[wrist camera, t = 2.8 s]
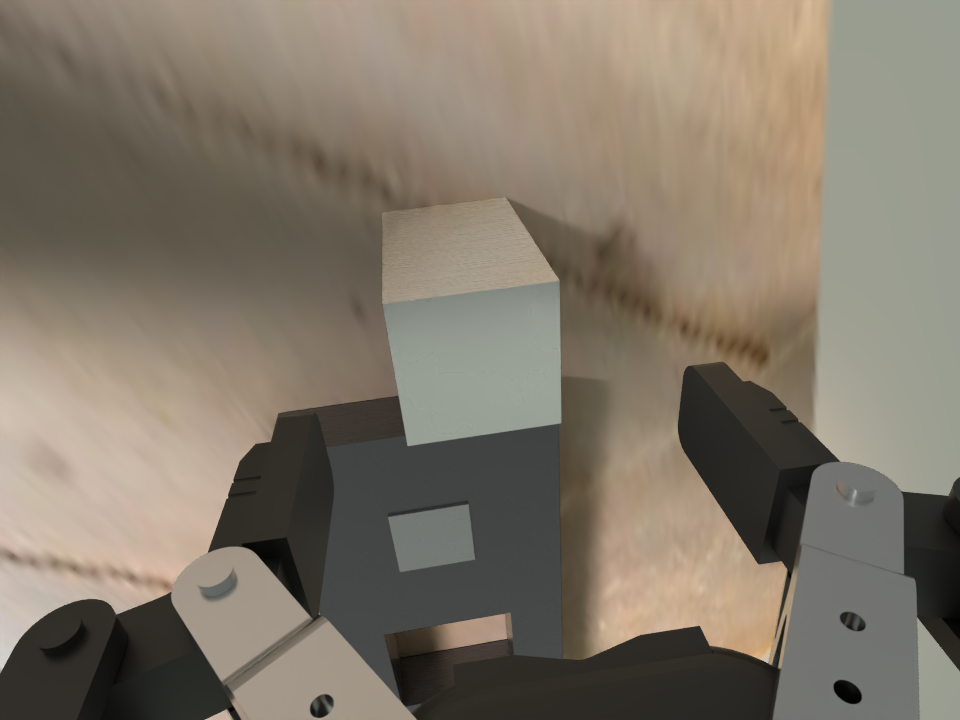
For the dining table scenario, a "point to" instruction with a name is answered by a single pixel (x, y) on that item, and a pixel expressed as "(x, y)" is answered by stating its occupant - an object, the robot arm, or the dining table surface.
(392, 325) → the grey rectangular block
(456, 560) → the dark grey flat board
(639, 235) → the dining table surface
